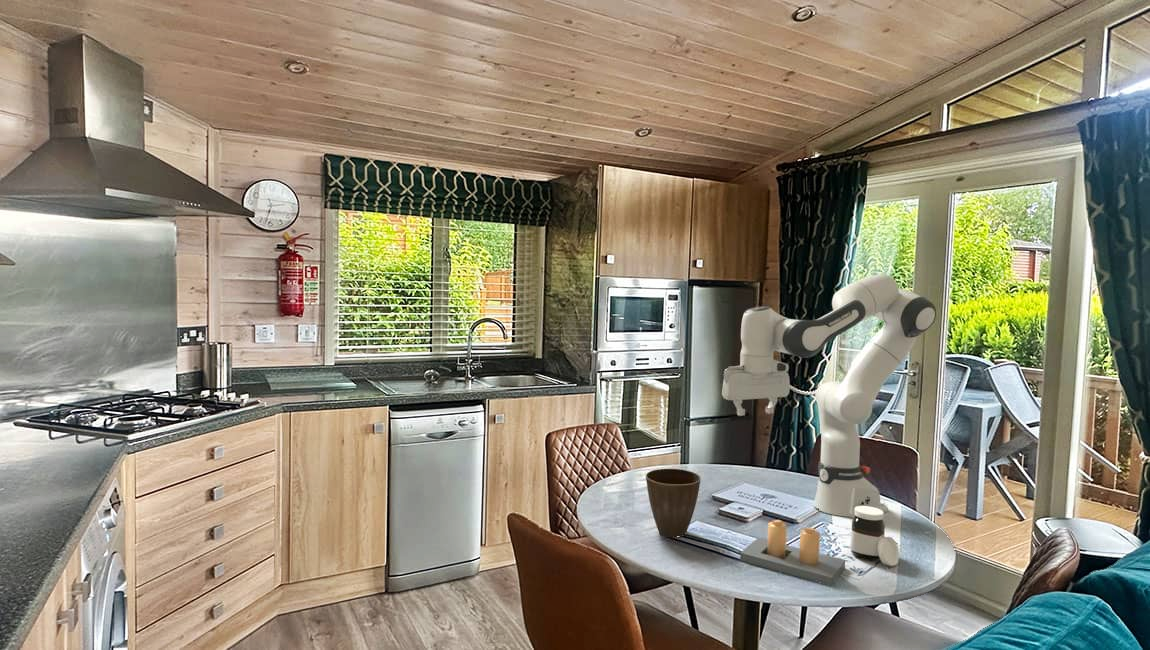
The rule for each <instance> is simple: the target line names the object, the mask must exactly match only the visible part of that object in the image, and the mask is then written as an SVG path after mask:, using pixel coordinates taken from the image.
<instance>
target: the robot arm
mask: <svg viewBox="0 0 1150 650" xmlns="http://www.w3.org/2000/svg"><path fill="white" fill-rule="evenodd" d="M831 306H832V307H831V308H832V311H829V313H826V314H824V315H823V316H821V317H819V318H817V319H792V318H788V317H785V316H783V315H781V314H779V313H778V312H776V311H775V310H773V308H772V307H770V306H756V307H751V308H748V309H746V310H745V311H744V312H743V316H742V319H741V325H740V326H741V328H740V341H741V350H740V354H739V357H740V360H739V361H740V362H739V363H740V364H739V365H735V366H734V365H733V366H732V365H729V366H728V367H727V368H726V369H725V370H724V372H723V382H722V389H721V395H722V397H723V399H724V400H727V401H733V404H734V407H735V408H736V414H737V416H738V417H742V416H745V415H746V409H745V408H743V407H742V404H743V400H758V399H768V400H769V403H768V405H766V406H765V408H764V409H765V410H764V411H765V413H766V414H768V415H769V414H774V409H775V406H776V405H777V403H778V398H786V397H788V395H789V394H790V389H791V388H790V384H791V383H790V376H789V373H788V372H789V369H790V367H789V364H788V363H785V362H782V361H779V360H777V359H774V353H775V352H779V353H783V354H787V355H792V356H795V357H798V358H802V359H808V358H812V357H815V355H817V354H818V353H819V352H820V351H821V350H822V349H823V348H824V347H825V345H826V344H827V343H829V342H830V341H831V340H832V339H834V338H836V337H838V336H839V335H841V334H843V333H844V332H846V331H848V330H850V329H851V328H854V327H855V326H857V325H858V324H859V323H860V322H862V321H866V320H868V319H869V318H871V317H876V319H879V320H880V321H882V322H883V323H882V327H881V328H880V329H879V330H877V332H876V333H875V334H874V335H873V336H872V337H871V338H870V340H869V341H867V342H866V343H865V345H864V346H863V347H862V348H861V350H860V351H859V352H858V353H857V354H856V356H855V357H854V358H853V359H852V361H851V362H850V363H851V364H850V368H849V370H848V372H847V374H846V376H845V378H844V379H843V380H842V381H840V380H839V381H837V380H833V381H832V380H831V381H826V382H823V383H821V384H820V385H819V387H818V388H817V389H816V393H815V400H816V405H817V409H818V410H817V412H818V420H819V426H820V427H819V428H820V436H821V438H820V440H821V441H820V442H821V443H820V460H819V461H818V477H819V478H818V480H817V481H818V482H817V488H816V493H815V496H814V501H813V503H812V505H813V504H814V505H815V506H817V507H818V508H819V510H818V511H820V512H822V513H825V514H829V515H834V516H839V517H846V518H847V517H848V518H852V519H853V517H854V515H855V514H854V513H855V507H857V506H869V507H874V508H878V509H880V510H882V511H883V512H884V513H886V512H889V507H888V506H887V505H886V504H884V503H883V502H881V495H880V492H879V489H878V488H877V487H876V486H875V485H873V484H872V483H871V482H870V481H868V480H867V478H865V477H864V474H863V473H865V474H870V472H871V468H870V467H868V466H865V465H862V466H861V464H860V454H861V453H860V448H861V440H860V436H859V433H858V430H857V425H860V424H863V423H865V422H866V421H868V420H869V418H870V417H871V415H872V412H873V405H874V403H875V400H876V399H877V396H878V395H879V393H880V391H881V389H882V387H884V384H885V383H886V382H887V380H888V379H889V378H890V377H891V376H892V374H893V373H894V372H895V371H896V370H897V368H899V366H900V365H901V364H902V362H903V361H905V358H906V357H907V356H908V355H909V353H910V351H911V349H912V348H913V347H914V345H915V342H916V341H917V336H919V335H921V334H924V333H925V332H926V331H927V330H928V329H930V328H931V327H932V326H933V324H934V322H935V321H936V317H937V308H936V305H935V304H934V303H933V302H932V301H930V300H929V299H928V298H926V297H924V296H920V295H918V294H917V293H914V292H912V291H911V290H908V289H903V288H900V287H899V284H898V283H897V281H896V280H895V279H894V278H893V277H892V276H890V275H888V274H887V273H886V274H885V273H878V274H872V275H869V276H865V277H863V278H861V279H857V280H855V281H852V282H851V283H849V284H847V285H845V286H843V287H841V288H840V289H839V290H838V291H836V292H835V293H834V294H833V296H832V300H831Z"/></svg>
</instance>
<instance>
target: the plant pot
mask: <svg viewBox="0 0 1150 650" xmlns="http://www.w3.org/2000/svg"><path fill="white" fill-rule="evenodd" d="M645 479H646V481H645V482H646V489H647V495H648V499H649V504H650V509H651V512H652V517H653V519H654V523H655V525H656V528H657V531H658V533H659V535H661V536H664V537H666V538H671V537H677V536H682V535H684V534H685V533H686V534H687V532H688V529H689V527H690V524H691V521H692V518H693V516H694V512H695V510H696V509H695V508H696V504H697V502H698V501H697V500H698V496H699V493H700V485H701V480H702V478H701V476H700V475H699V474H697V473H695V472H693V471H690V470H685V469H680V468H659V469H654V470H651V471H650V470H649V471H648V472H647V473H646V474H645ZM686 534H685V535H686ZM685 535H684V536H685ZM682 537H683V536H682Z"/></svg>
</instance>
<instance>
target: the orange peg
mask: <svg viewBox="0 0 1150 650" xmlns="http://www.w3.org/2000/svg"><path fill="white" fill-rule="evenodd" d="M767 540H768V543H767V555H770V556H774V557H777V558H781V559H785V558H786V557H785V556H786V545H787V525H786V524H785V523H783V521H782V520H780V519H776V520H772V521H770V522H768V523H767Z"/></svg>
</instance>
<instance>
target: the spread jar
mask: <svg viewBox="0 0 1150 650" xmlns="http://www.w3.org/2000/svg"><path fill="white" fill-rule="evenodd" d="M884 513H885V512H883V511H882V510H880V509H878V508H874V507H869V506H857V507H855V513H854V514H855V515H854V517H853V518H852V520H851V534H850V535H851V537H850V539H851V540H850V552H851V553H852V554H853V555H854V556H855V557H857V558H860V559H862V558H863V559H862V560H867V559H868V560H869V561H878V560H880V561H881V563H882V564H883V565H885V566H888V567H889V566H890V567H893V566H894V567H895V566H896V565H897V564H898V562H899V560H900V549H899V546H898V544H897V541H896V540H895V539H894V538H893V537H891V536H885V533H886V532H885V530H886V529H885V528H886V526H885V524H886V523H885V520H884ZM868 560H867V561H868Z"/></svg>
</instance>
